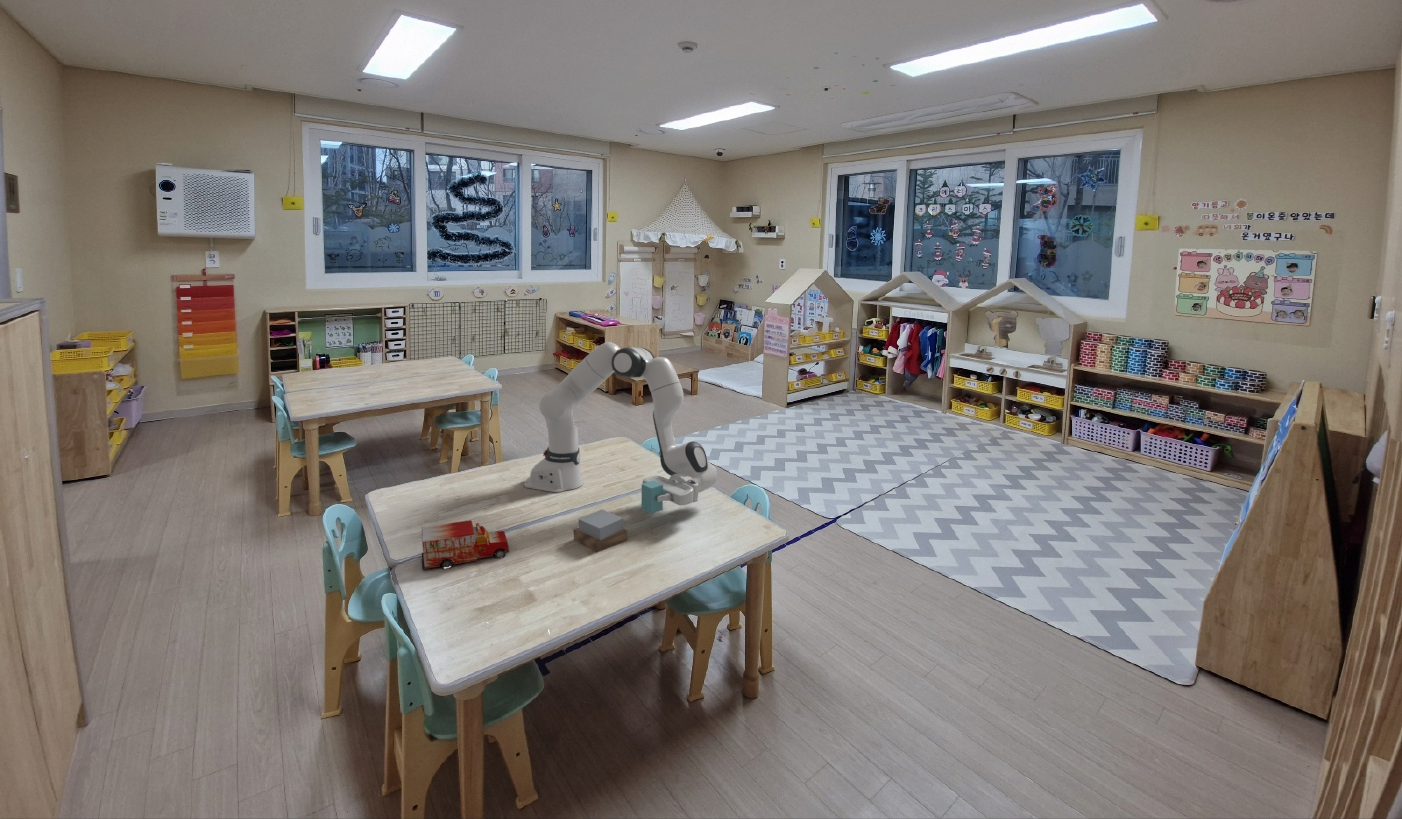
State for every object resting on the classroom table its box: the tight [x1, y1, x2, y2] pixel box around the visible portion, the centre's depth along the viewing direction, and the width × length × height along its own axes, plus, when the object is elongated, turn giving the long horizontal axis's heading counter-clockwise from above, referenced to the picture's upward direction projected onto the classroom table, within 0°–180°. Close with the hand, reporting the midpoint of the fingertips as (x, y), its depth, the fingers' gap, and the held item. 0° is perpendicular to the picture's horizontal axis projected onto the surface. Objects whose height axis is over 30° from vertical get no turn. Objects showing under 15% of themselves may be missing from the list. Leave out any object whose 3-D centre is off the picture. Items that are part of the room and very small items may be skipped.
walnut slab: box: [573, 527, 628, 553], centre depth 212 cm, size 12×12×4 cm
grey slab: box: [578, 509, 625, 540], centre depth 211 cm, size 10×10×4 cm
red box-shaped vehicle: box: [421, 519, 510, 570], centre depth 199 cm, size 11×25×10 cm, turn 113°
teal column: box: [640, 481, 664, 515], centre depth 221 cm, size 5×5×9 cm
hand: (650, 496), depth 220 cm, fingers closed on teal column, 5 cm apart
